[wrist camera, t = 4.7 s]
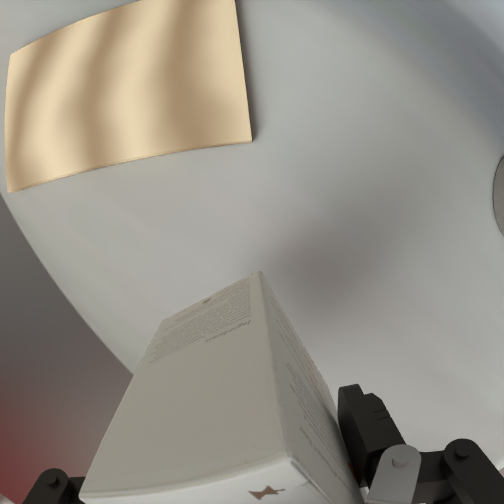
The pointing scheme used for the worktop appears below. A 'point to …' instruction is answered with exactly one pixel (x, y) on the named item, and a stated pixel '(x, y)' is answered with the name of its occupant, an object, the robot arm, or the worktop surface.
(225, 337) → the small box
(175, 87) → the maple board
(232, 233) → the worktop surface
